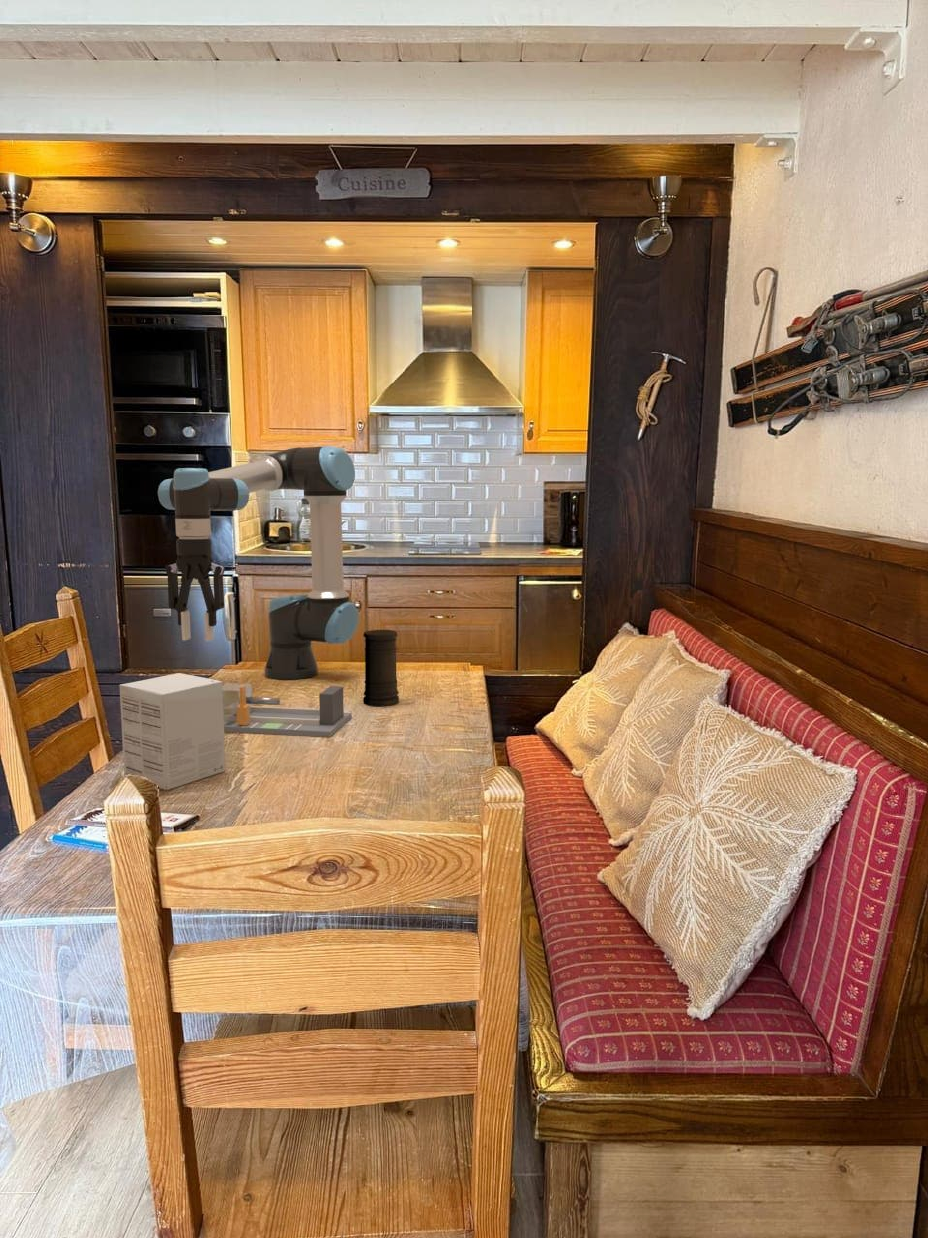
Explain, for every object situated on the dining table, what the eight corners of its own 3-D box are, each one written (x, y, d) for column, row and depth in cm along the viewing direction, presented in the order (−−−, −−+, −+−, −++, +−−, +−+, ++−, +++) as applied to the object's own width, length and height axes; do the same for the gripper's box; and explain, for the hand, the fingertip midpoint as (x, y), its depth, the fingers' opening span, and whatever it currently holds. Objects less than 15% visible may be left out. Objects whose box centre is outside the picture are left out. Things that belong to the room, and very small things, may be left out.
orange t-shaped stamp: (241, 722, 186) (240, 685, 185) (250, 722, 186) (249, 685, 184) (237, 724, 184) (235, 687, 182) (245, 725, 183) (244, 687, 182)
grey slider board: (222, 712, 200) (221, 678, 199) (351, 718, 195) (351, 683, 194) (191, 730, 185) (189, 694, 183) (330, 737, 180) (329, 700, 179)
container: (401, 698, 215) (401, 629, 212) (395, 707, 206) (395, 635, 203) (367, 697, 216) (366, 628, 213) (359, 706, 207) (358, 634, 204)
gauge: (227, 710, 196) (226, 683, 195) (284, 712, 194) (284, 685, 193) (205, 723, 185) (204, 694, 184) (265, 726, 183) (264, 697, 182)
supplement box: (183, 758, 165) (179, 671, 162) (227, 771, 157) (223, 680, 155) (122, 776, 154) (117, 684, 151) (166, 791, 147) (161, 694, 144)
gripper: (147, 538, 185) (152, 641, 189) (224, 539, 183) (228, 643, 186) (164, 536, 193) (169, 636, 196) (238, 537, 190) (241, 638, 193)
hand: (197, 639), depth 191 cm, fingers open, 5 cm apart
